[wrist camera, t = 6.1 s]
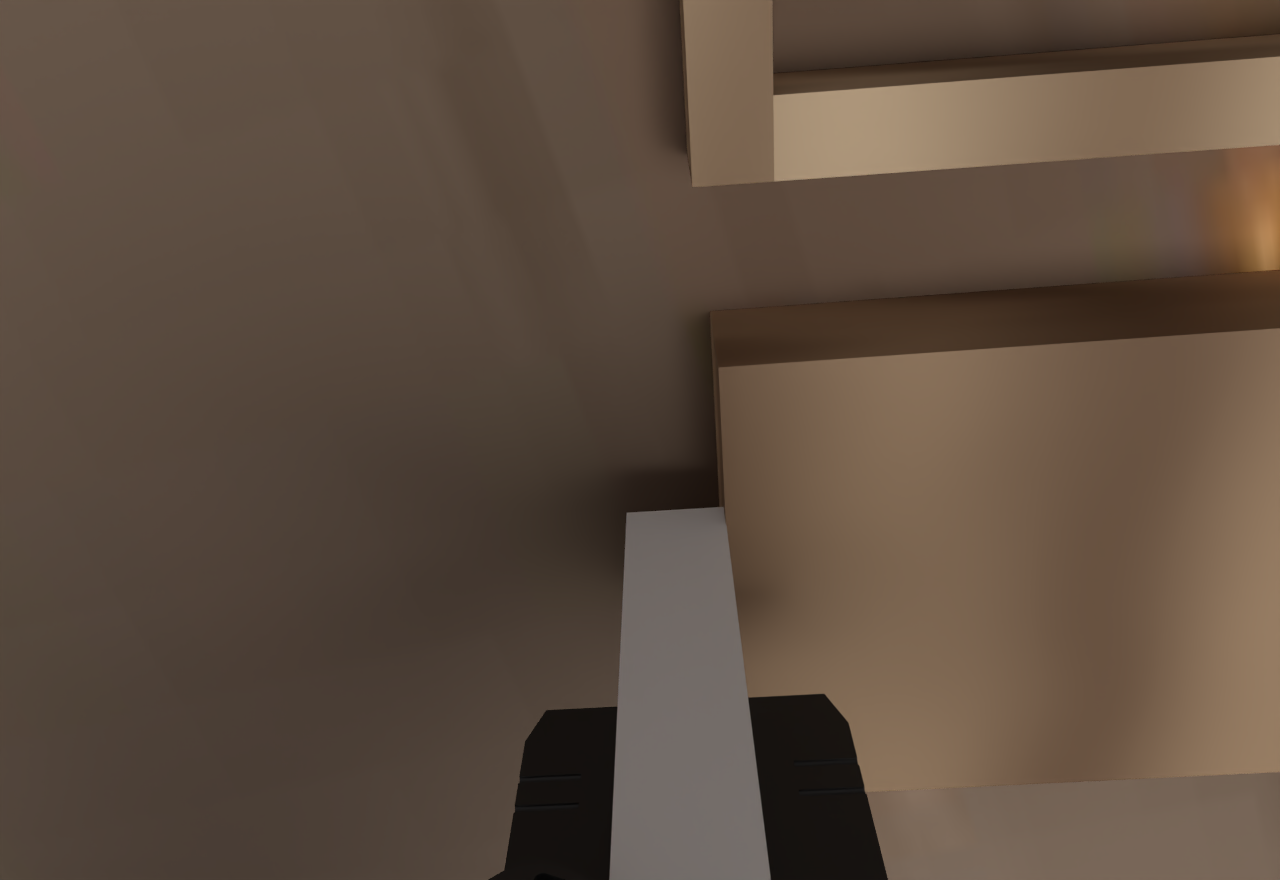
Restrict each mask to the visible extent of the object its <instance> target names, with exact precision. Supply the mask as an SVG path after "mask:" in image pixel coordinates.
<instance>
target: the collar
mask: <svg viewBox="0 0 1280 880" xmlns="http://www.w3.org/2000/svg"><path fill="white" fill-rule="evenodd" d="M679 3H680V22H681V42H682V61H683V81H684V101H685V120H686V140H687V157H688V163H689V169H690V176H691V182H692V187H705V186H719V185H733V184H746V183H760V182H774V181H788V180H802V179H815V178H829V177H843V176H857V175H870V174H884V173H898V172H912V171H926V170H939V169H953V168H967V167H981V166H994V165H1008V164H1022V163H1036V162H1050V161H1063V160H1077V159H1091V158H1105V157H1118V156H1132V155H1146V154H1160V153H1174V152H1187V151H1201V150H1215V149H1229V148H1242V147H1256V146H1270V145H1280V34H1275V35H1262V36H1249V37H1236V38H1223V39H1210V40H1198V41H1185V42H1172V43H1159V44H1146V45H1133V46H1120V47H1107V48H1095V49H1082V50H1069V51H1056V52H1043V53H1030V54H1017V55H1005V56H992V57H979V58H966V59H953V60H940V61H927V62H914V63H902V64H889V65H876V66H863V67H850V68H837V69H824V70H811V71H799V72H786V73H773V15H772V0H679Z"/></svg>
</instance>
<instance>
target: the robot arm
mask: <svg viewBox="0 0 1280 880" xmlns="http://www.w3.org/2000/svg"><path fill="white" fill-rule="evenodd" d="M489 880H888V878H887V874H886V870H885V866H884V862H883V858H882V854H881V850H880V846H879V842H878V838H877V834H876V830H875V826H874V822H873V818H872V814H871V810H870V806H869V802H868V798H867V794H865V786H864V782H863V778H862V774H861V770H860V766H859V765H858V761H857V754H856V750H855V746H854V742H853V738H852V734H851V730H850V726H849V723H848V722H847V720H846V719H845V718H844V717H843V715H842V714H841V713H840V712H839V711H838V709H837V708H836V707H835V706H834V705H833V703H832V702H831V701H830V700H829V699H828V697H827V696H826V695H825V694H807V695H788V696H768V697H749V698H748V693H747V685H746V677H745V669H744V661H743V653H742V645H741V637H740V629H739V621H738V614H737V606H736V598H735V590H734V582H733V574H732V566H731V558H730V550H729V542H728V534H727V526H726V522H725V514H724V507H713V508H696V509H680V510H663V511H646V512H630V513H627V517H626V538H625V559H624V580H623V602H622V623H621V644H620V665H619V686H618V707H602V708H583V709H563V710H546V712H545V713H544V715H543V716H542V717H541V719H540V720H539V722H538V723H537V725H536V726H535V728H534V729H533V731H532V732H531V734H530V735H529V737H528V738H527V740H526V741H525V746H524V752H523V758H522V765H521V771H520V783H518V790H517V796H516V802H515V813H514V814H513V821H512V827H511V833H510V839H509V846H508V852H507V858H506V864H505V870H504V871H503V872H501V873H499V874H497V875H496V876H494V877H492V878H490V879H489Z"/></svg>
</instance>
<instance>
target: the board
mask: <svg viewBox="0 0 1280 880" xmlns="http://www.w3.org/2000/svg"><path fill="white" fill-rule="evenodd" d="M710 326H711V346H712V366H713V386H714V406H715V426H716V445H717V465H718V485H719V505H720V507H724V514H725V522H726V526H727V534H728V542H729V550H730V558H731V566H732V574H733V582H734V590H735V598H736V606H737V614H738V621H739V629H740V637H741V645H742V653H743V661H744V669H745V677H746V685H747V693H748V698H749V697H768V696H788V695H807V694H825V695H826V696H827V697H828V699H829V700H830V701H831V702H832V703H833V705H834V706H835V707H836V708H837V709H838V711H839V712H840V713H841V714H842V715H843V717H844V718H845V719H846V720H847V722H848V723H849V726H850V730H851V734H852V738H853V742H854V746H855V750H856V754H857V761H858V765H859V766H860V770H861V774H862V778H863V782H864V786H865V792H878V791H898V790H919V789H940V788H960V787H981V786H1001V785H1022V784H1043V783H1063V782H1084V781H1104V780H1125V779H1146V778H1166V777H1187V776H1208V775H1228V774H1249V773H1269V772H1280V270H1272V271H1258V272H1244V273H1231V274H1217V275H1203V276H1189V277H1175V278H1161V279H1148V280H1134V281H1120V282H1106V283H1092V284H1079V285H1065V286H1051V287H1037V288H1023V289H1010V290H996V291H982V292H968V293H954V294H940V295H927V296H913V297H899V298H885V299H871V300H858V301H844V302H830V303H816V304H802V305H788V306H775V307H761V308H747V309H733V310H719V311H710Z"/></svg>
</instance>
